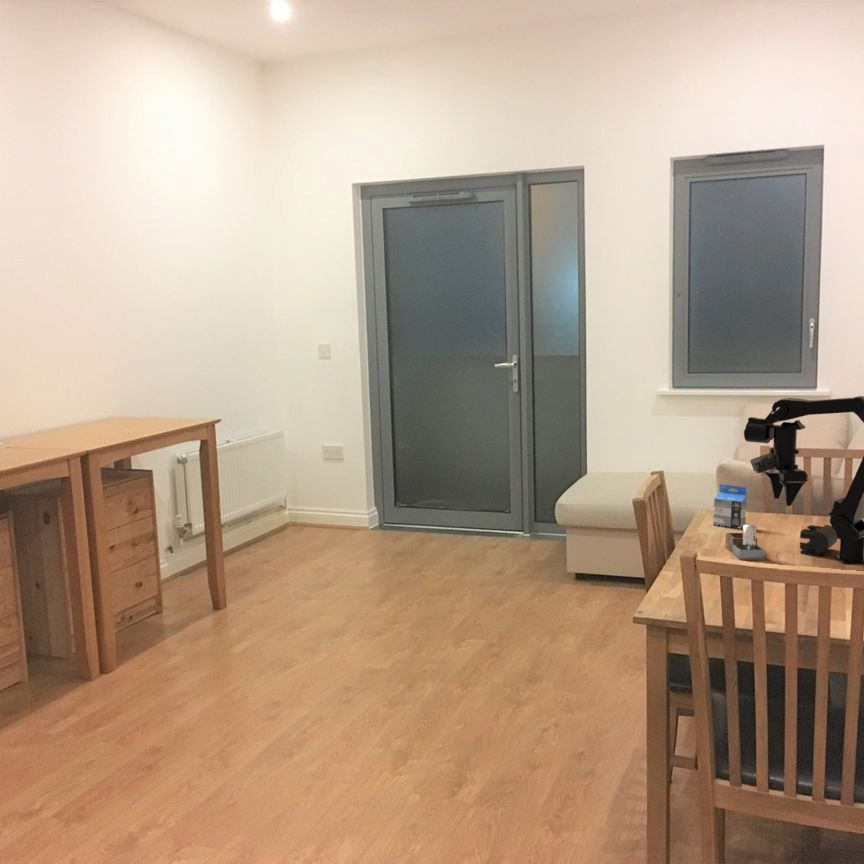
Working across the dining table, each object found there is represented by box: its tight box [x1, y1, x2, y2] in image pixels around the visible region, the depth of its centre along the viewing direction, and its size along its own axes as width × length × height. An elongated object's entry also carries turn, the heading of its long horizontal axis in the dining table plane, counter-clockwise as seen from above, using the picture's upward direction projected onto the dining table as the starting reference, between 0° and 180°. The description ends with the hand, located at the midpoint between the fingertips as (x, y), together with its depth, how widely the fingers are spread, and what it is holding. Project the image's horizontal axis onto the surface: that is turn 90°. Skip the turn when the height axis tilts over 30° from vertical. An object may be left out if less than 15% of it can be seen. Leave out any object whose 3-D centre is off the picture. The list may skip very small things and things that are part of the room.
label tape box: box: [712, 483, 748, 530], centre depth 276 cm, size 9×4×12 cm, turn 48°
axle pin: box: [742, 523, 757, 550], centre depth 242 cm, size 3×3×8 cm
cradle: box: [732, 543, 766, 561], centre depth 242 cm, size 6×6×2 cm
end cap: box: [799, 524, 839, 557], centre depth 246 cm, size 10×7×7 cm
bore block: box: [725, 532, 758, 554], centre depth 249 cm, size 6×6×4 cm
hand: (782, 502), depth 248 cm, fingers open, 9 cm apart
